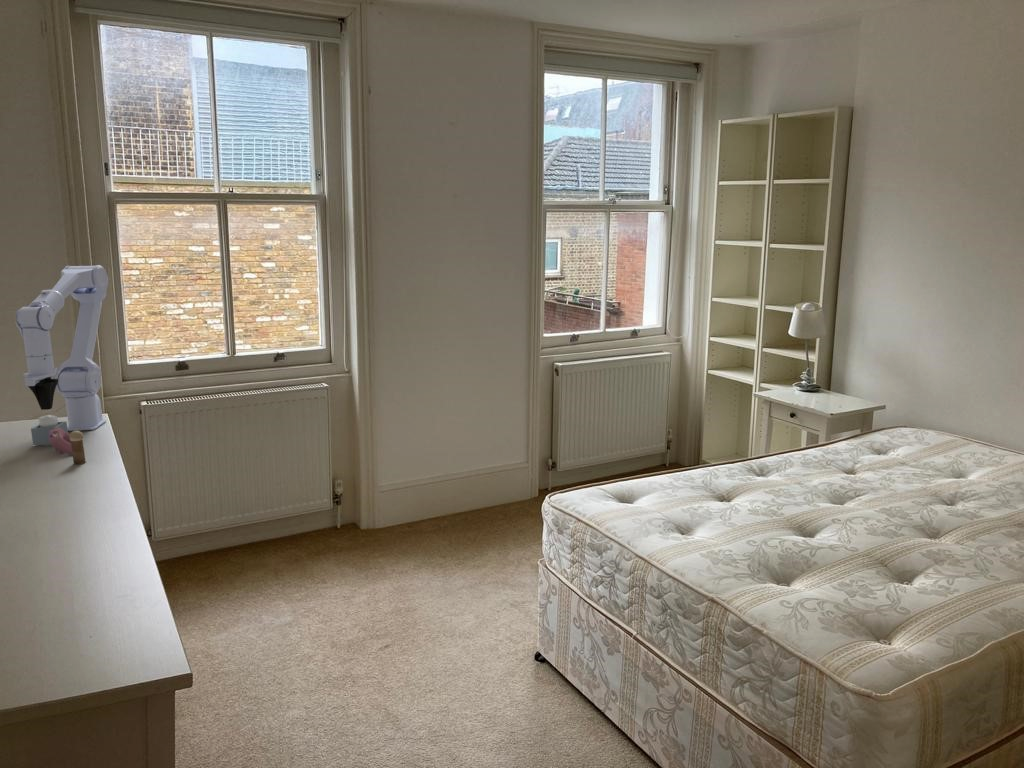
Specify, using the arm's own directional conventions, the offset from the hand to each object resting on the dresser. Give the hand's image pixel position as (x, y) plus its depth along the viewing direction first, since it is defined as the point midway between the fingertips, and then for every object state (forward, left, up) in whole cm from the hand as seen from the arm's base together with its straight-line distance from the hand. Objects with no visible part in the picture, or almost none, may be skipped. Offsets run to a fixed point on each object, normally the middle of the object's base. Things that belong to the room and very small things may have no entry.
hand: (46, 409), depth 206 cm
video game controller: (+9, +7, -9) cm, 15 cm away
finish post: (+20, +15, -9) cm, 27 cm away
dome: (0, 0, -6) cm, 6 cm away
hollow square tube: (0, 0, -9) cm, 9 cm away
